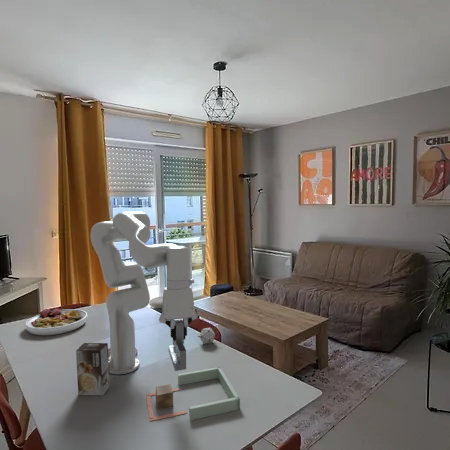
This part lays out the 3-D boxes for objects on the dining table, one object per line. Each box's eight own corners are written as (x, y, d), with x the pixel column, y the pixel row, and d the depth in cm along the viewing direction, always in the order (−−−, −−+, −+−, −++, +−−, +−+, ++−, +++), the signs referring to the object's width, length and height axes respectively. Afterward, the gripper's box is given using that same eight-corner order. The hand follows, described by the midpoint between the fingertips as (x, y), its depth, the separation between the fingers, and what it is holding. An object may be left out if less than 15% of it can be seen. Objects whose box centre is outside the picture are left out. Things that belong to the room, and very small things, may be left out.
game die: (210, 352, 149) (213, 341, 143) (194, 345, 150) (196, 333, 144) (217, 337, 156) (220, 326, 150) (201, 330, 157) (204, 318, 151)
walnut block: (157, 410, 101) (157, 395, 101) (155, 401, 106) (155, 386, 106) (173, 407, 103) (172, 392, 102) (170, 398, 108) (170, 384, 107)
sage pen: (190, 420, 96) (189, 409, 96) (178, 383, 116) (177, 374, 116) (240, 409, 101) (239, 398, 101) (220, 375, 121) (220, 366, 121)
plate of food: (99, 323, 179) (98, 309, 179) (46, 342, 154) (45, 326, 153) (67, 314, 195) (66, 301, 194) (14, 330, 169) (13, 316, 169)
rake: (175, 371, 98) (174, 329, 97) (168, 351, 111) (168, 314, 110) (187, 369, 99) (186, 328, 98) (179, 349, 112) (178, 313, 111)
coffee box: (110, 385, 115) (109, 342, 115) (102, 396, 109) (101, 350, 108) (85, 385, 116) (84, 342, 115) (76, 395, 109) (75, 350, 109)
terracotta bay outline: (149, 421, 96) (149, 420, 96) (146, 394, 109) (146, 394, 109) (186, 413, 99) (186, 412, 99) (178, 388, 113) (178, 388, 113)
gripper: (199, 279, 110) (199, 331, 111) (152, 283, 105) (152, 337, 106) (205, 284, 103) (205, 340, 104) (154, 288, 98) (155, 346, 99)
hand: (178, 338), depth 105 cm, fingers closed on rake, 2 cm apart
